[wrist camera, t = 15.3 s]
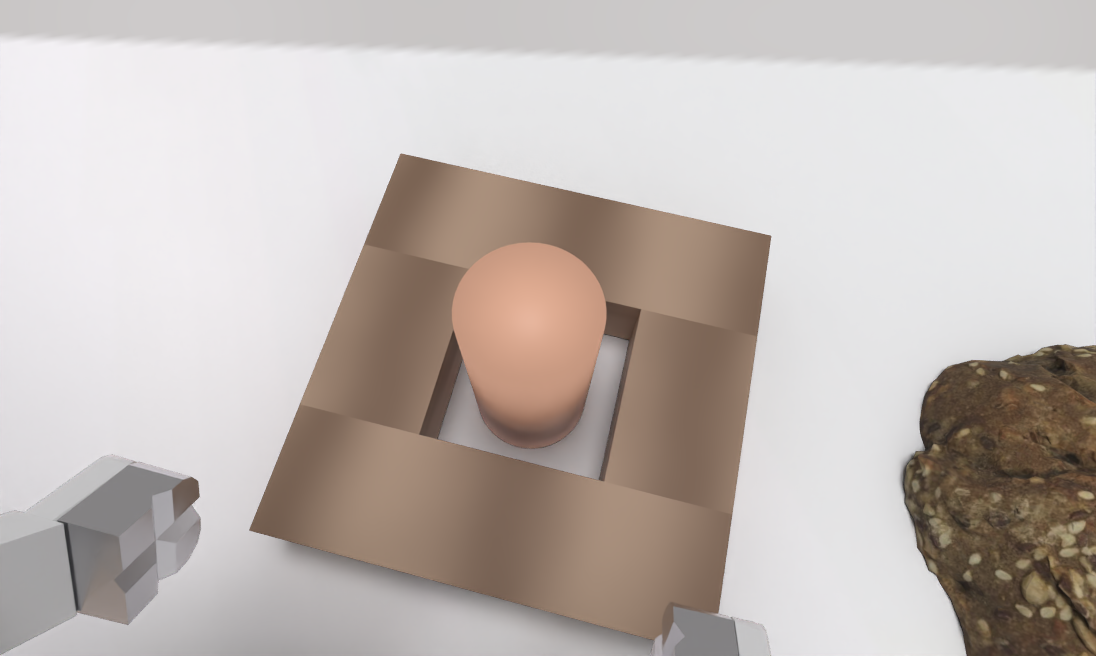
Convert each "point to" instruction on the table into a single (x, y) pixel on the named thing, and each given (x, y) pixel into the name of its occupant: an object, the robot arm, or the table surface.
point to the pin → (529, 339)
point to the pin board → (509, 484)
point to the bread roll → (1012, 500)
